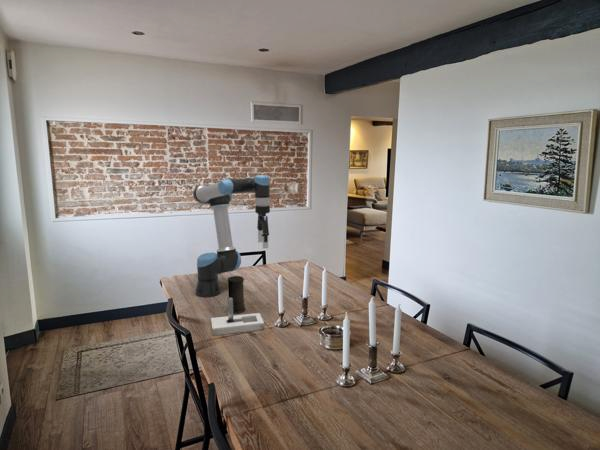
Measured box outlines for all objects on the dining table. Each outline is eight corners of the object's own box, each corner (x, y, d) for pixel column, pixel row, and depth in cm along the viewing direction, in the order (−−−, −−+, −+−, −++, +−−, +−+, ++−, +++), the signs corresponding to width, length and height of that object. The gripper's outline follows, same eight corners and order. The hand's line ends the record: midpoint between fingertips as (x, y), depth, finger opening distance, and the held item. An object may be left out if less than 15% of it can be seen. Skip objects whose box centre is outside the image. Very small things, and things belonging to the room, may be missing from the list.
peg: (225, 326, 191) (224, 296, 188) (235, 324, 193) (235, 295, 190) (226, 330, 186) (225, 300, 184) (237, 329, 188) (236, 299, 185)
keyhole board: (211, 324, 193) (211, 318, 192) (259, 319, 199) (259, 312, 199) (212, 335, 181) (212, 328, 181) (264, 329, 188) (263, 322, 187)
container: (246, 307, 214) (246, 275, 210) (242, 314, 205) (241, 281, 202) (230, 306, 215) (229, 275, 211) (225, 313, 206) (224, 280, 202)
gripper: (251, 202, 215) (252, 240, 219) (259, 209, 191) (260, 251, 195) (265, 202, 217) (265, 239, 221) (274, 208, 193) (275, 250, 197)
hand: (263, 245), depth 208 cm, fingers open, 13 cm apart
